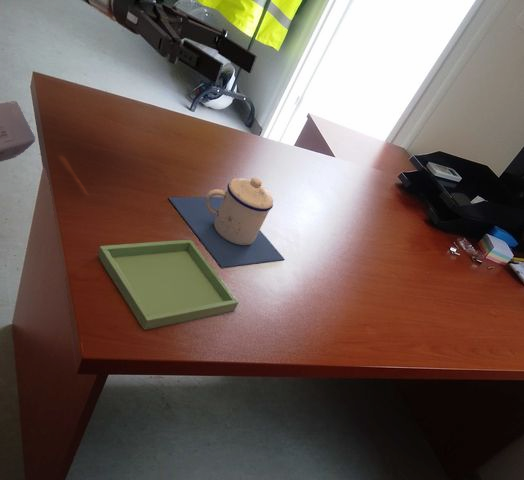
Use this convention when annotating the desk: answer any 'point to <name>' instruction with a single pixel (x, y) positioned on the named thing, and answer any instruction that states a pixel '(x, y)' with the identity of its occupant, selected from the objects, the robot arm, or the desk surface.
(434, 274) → the desk surface
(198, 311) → the tray
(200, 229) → the mat
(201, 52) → the robot arm
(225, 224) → the teacup with lid
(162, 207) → the desk surface
